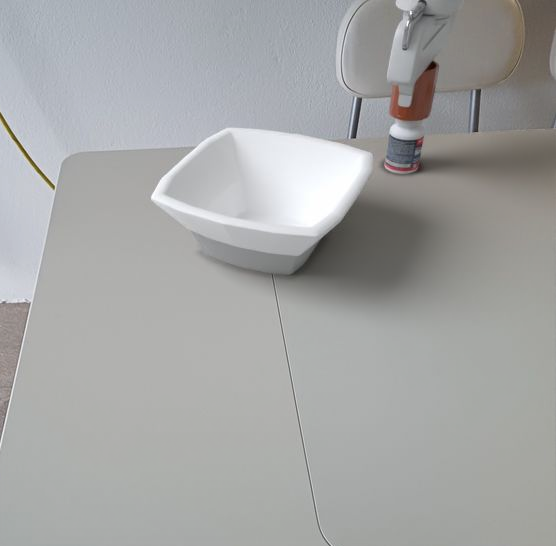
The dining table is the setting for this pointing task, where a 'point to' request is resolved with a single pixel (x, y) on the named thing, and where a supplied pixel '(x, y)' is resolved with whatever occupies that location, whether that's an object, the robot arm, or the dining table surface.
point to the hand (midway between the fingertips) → (412, 95)
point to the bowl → (263, 195)
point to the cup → (417, 96)
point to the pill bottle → (404, 146)
